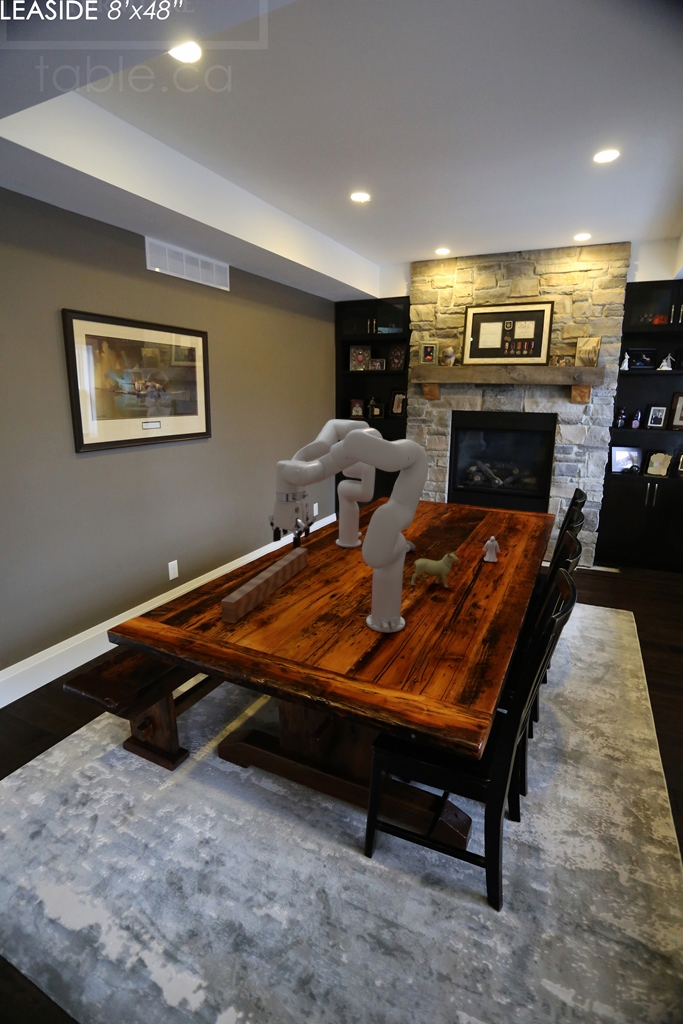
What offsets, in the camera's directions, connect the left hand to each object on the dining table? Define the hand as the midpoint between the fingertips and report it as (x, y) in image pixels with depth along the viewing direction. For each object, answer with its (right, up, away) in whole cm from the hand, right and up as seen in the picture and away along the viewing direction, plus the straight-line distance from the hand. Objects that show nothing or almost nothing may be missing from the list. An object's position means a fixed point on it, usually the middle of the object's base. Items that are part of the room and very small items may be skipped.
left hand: (296, 535), depth 206 cm
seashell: (+49, -9, +29) cm, 58 cm away
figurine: (+86, -12, +19) cm, 89 cm away
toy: (+55, -19, -12) cm, 59 cm away
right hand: (-1, -2, -30) cm, 30 cm away
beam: (-8, -19, -17) cm, 27 cm away
